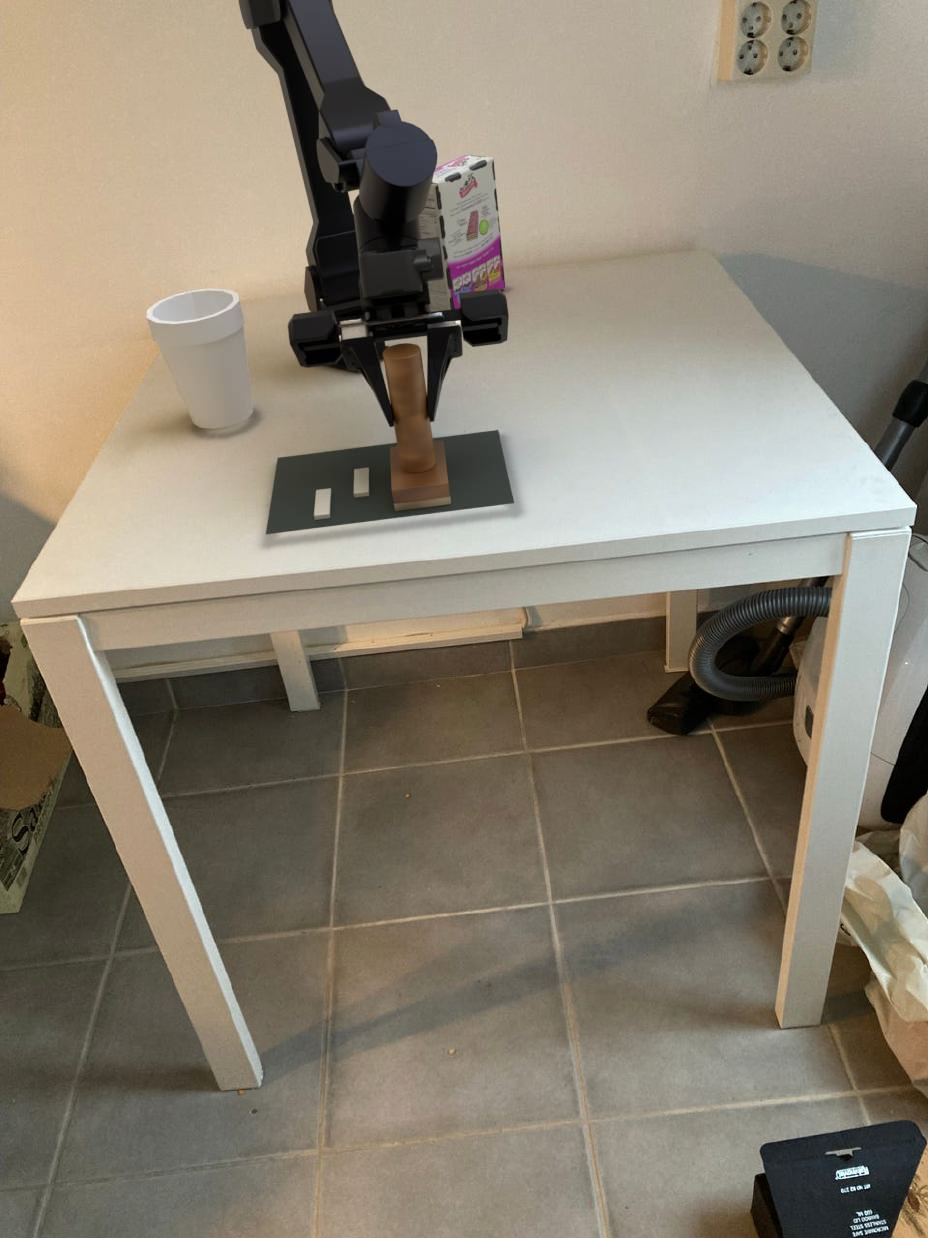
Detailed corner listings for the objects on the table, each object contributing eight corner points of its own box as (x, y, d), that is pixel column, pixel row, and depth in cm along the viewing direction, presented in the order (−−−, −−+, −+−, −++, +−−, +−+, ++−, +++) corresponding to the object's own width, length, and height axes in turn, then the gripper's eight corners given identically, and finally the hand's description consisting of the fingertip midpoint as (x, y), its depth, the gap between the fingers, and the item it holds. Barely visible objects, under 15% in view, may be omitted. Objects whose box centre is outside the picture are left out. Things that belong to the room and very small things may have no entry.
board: (267, 543, 87) (265, 534, 86) (279, 466, 98) (277, 457, 97) (515, 512, 87) (514, 502, 86) (498, 438, 98) (498, 429, 97)
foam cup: (194, 452, 102) (157, 331, 94) (172, 419, 109) (136, 304, 101) (280, 424, 105) (251, 306, 97) (253, 395, 112) (224, 281, 104)
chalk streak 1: (314, 520, 87) (313, 515, 87) (316, 494, 91) (315, 489, 90) (330, 518, 87) (329, 513, 87) (332, 492, 91) (331, 487, 90)
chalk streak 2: (354, 498, 90) (353, 493, 89) (354, 473, 93) (354, 468, 93) (369, 496, 90) (368, 491, 89) (369, 471, 93) (368, 467, 93)
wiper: (395, 511, 87) (371, 374, 79) (393, 467, 93) (371, 335, 85) (451, 504, 87) (433, 366, 79) (445, 460, 93) (429, 328, 85)
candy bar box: (477, 283, 133) (464, 153, 123) (506, 289, 130) (496, 156, 120) (423, 312, 126) (406, 177, 116) (453, 319, 124) (438, 181, 114)
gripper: (265, 217, 79) (285, 405, 77) (497, 188, 79) (522, 375, 77) (292, 282, 90) (310, 447, 88) (495, 256, 90) (517, 421, 88)
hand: (411, 422), depth 85 cm, fingers closed on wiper, 3 cm apart
